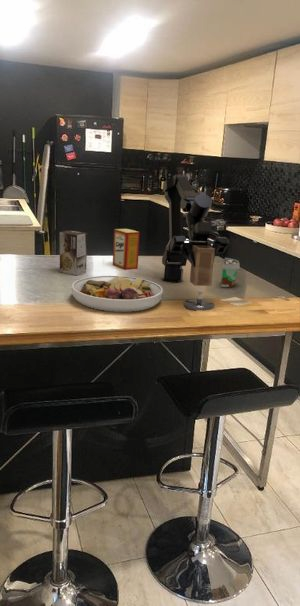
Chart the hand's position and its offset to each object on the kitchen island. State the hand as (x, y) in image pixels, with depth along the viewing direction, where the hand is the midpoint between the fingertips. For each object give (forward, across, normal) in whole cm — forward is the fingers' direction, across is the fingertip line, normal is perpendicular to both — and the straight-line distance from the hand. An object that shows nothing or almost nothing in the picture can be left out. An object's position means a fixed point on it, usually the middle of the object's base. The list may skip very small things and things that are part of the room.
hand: (203, 266), depth 159 cm
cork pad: (+6, +15, +14) cm, 21 cm away
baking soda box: (-31, -16, +50) cm, 61 cm away
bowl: (+4, -26, +16) cm, 31 cm away
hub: (+9, 0, +10) cm, 14 cm away
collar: (+3, 0, +5) cm, 6 cm away
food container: (-9, +20, +29) cm, 36 cm away
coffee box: (-23, -39, +42) cm, 62 cm away
